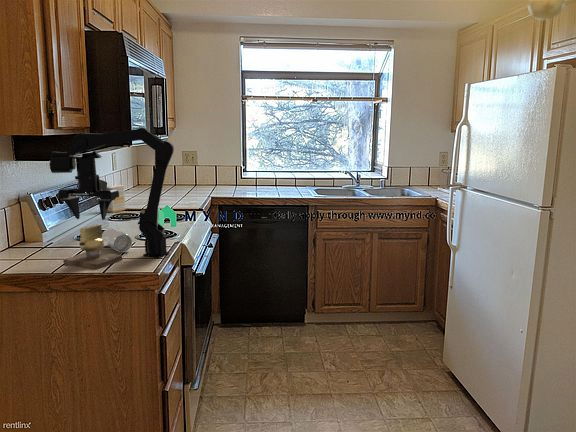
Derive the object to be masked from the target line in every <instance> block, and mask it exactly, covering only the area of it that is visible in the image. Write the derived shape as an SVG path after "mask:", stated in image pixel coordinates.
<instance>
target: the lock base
mask: <svg viewBox="0 0 576 432" xmlns="http://www.w3.org/2000/svg"><path fill="white" fill-rule="evenodd" d="M62 260H63V265H67V266H68V265H69V266H76V267H81V268H82V267H83V268H88V269H94V270H99V269H101V268H104V267H107V266H109V265H112V264H115V263H118V262H120V261H122V260H123V255H122V254H121V255H120V254H114V253H113V254H112V253H108V252H107V253H106V252H100V249H99V250H93V251H85V252H82V253H79V254H76V255H73V256H70V257H66V258H64V259H62Z"/></svg>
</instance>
